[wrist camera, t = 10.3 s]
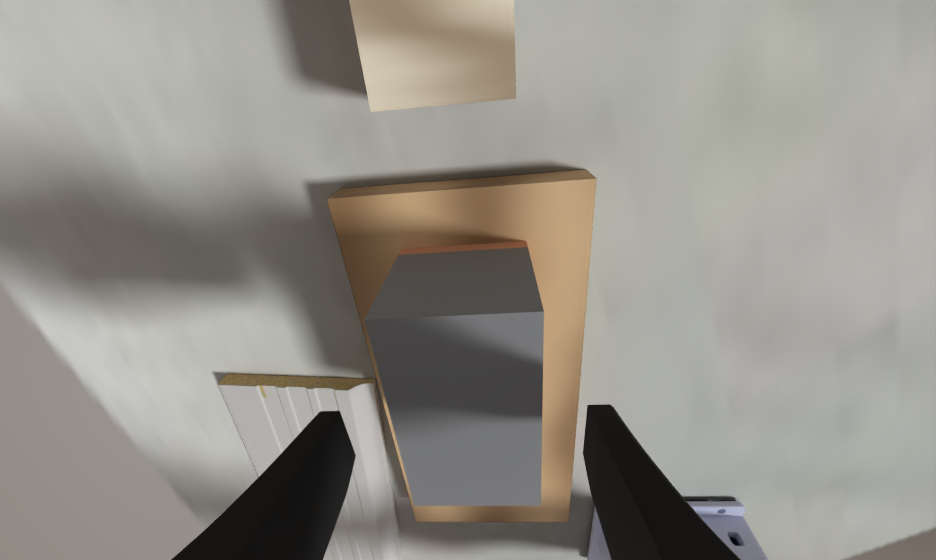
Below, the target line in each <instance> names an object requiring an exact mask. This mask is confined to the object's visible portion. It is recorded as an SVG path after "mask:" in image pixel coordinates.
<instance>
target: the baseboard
mask: <svg viewBox="0 0 936 560" xmlns="http://www.w3.org/2000/svg"><path fill="white" fill-rule="evenodd" d="M218 386H219V388H220V390H221V392H222V395H223V397H224V399H225V402H226V404H227V406H228V408H229V411H230V413H231V415H232V417H233V420H234V422H235V424H236V426H237V429H238V431H239V433H240V436H241V438H242V440H243V442H244V445H245V447H246V449H247V451H248V454H249V456H250V458H251V460H252V463H253V465H254V467H255V469H256V472H257V474H258V476H259V477H260V475H261V474H262V473H263V472H264V471H265V470H266V469H267V468H268V467H269V466H270V465H271V464H272V463H273V462H274V461H275V460H276V459H277V457H278V456H279V455H280V454H281V453H282V452H283V451H284V450H285V449H286V448H287V447H288V446H289V444H290V443H291V442H292V441H293V440H294V439H295V438H296V437H297V436H298V435H299V434H300V432H301V431H302V430H303V429H304V428H305V427H306V426H307V425H308V424H309V423H310V422H311V421H312V419H313V418H314V417H315V416H316V415H317V414H318V413H319V412H320V411H340V413H341V416H342V418H343V421H344V424H345V427H346V430H347V432H348V435H349V438H350V441H351V444H352V446H353V449H354V452H355V455H356V457H355V462H354V466H353V471H352V475H351V479H350V483H349V487H348V491H347V494H346V497H345V500H344V503H343V506H342V508H341V511H340V514H339V517H338V520H337V522H336V525H335V528H334V531H333V533H332V536H331V539H330V542H329V544H328V547H327V550H326V553H325V555H324V558H323V560H404V558H403V552H402V546H401V539H400V533H399V527H398V520H397V514H396V507H395V501H394V495H393V488H392V482H391V476H390V469H389V463H388V457H387V450H386V444H385V438H384V431H383V425H382V418H381V412H380V406H379V399H378V393H377V387H376V380H375V379H356V378H329V377H302V376H276V375H249V374H226V376H225V377H224V378H223V379H222V380H221V381H220V382H219V383H218Z"/></svg>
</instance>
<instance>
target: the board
mask: <svg viewBox="0 0 936 560" xmlns="http://www.w3.org/2000/svg"><path fill="white" fill-rule="evenodd" d="M596 180H597V178H595V177H594V176H593V175H592V174H591V173H590V172H589V171H587V170H575V171H562V172H549V173H536V174H523V175H510V176H497V177H485V178H472V179H459V180H446V181H433V182H420V183H407V184H394V185H381V186H368V187H355V188H342V189H339V190H338V191H337V192H335V193H334V194H333V195H331V196H330V197H329V198H327V202H328V205H329V209H330V212H331V216H332V220H333V223H334V227H335V231H336V234H337V238H338V241H339V245H340V249H341V252H342V256H343V259H344V263H345V267H346V270H347V274H348V277H349V281H350V285H351V288H352V292H353V295H354V299H355V303H356V306H357V310H358V314H359V317H360V321H361V324H362V328H363V332H364V335H365V339H366V342H367V346H368V350H369V353H370V357H371V360H372V364H373V368H374V371H375V375H376V378H377V382H378V386H379V389H380V393H381V397H382V400H383V404H384V407H385V411H386V415H387V418H388V422H389V425H390V429H391V433H392V436H393V440H394V443H395V447H396V451H397V454H398V458H399V461H400V465H401V469H402V472H403V476H404V480H405V483H406V487H407V490H408V494H409V498H410V501H411V505H412V508H413V512H414V516H415V519H416V522H569V510H570V498H571V485H572V473H573V461H574V449H575V437H576V424H577V412H578V400H579V388H580V376H581V363H582V351H583V339H584V327H585V315H586V302H587V290H588V278H589V266H590V254H591V241H592V229H593V217H594V205H595V193H596ZM518 241H527V245H528V249H529V253H530V257H531V261H532V265H533V269H534V273H535V277H536V281H537V285H538V289H539V294H540V298H541V302H542V306H543V310H544V342H543V406H542V470H541V506H414V503H413V500H412V496H411V492H410V488H409V485H408V481H407V477H406V473H405V470H404V466H403V462H402V458H401V455H400V451H399V447H398V443H397V440H396V436H395V432H394V429H393V425H392V421H391V417H390V414H389V410H388V406H387V402H386V399H385V395H384V391H383V387H382V384H381V380H380V376H379V372H378V369H377V365H376V361H375V357H374V354H373V350H372V346H371V343H370V339H369V335H368V331H367V328H366V324H365V318H366V316H367V314H368V312H369V310H370V308H371V306H372V304H373V302H374V300H375V298H376V296H377V295H378V293H379V291H380V289H381V287H382V285H383V283H384V281H385V279H386V277H387V275H388V273H389V271H390V270H391V268H392V266H393V264H394V262H395V260H396V258H397V256H398V254H399V252H400V250H401V249H404V248H420V247H437V246H453V245H469V244H485V243H502V242H518Z"/></svg>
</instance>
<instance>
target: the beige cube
mask: <svg viewBox="0 0 936 560" xmlns="http://www.w3.org/2000/svg"><path fill="white" fill-rule="evenodd" d="M349 3H350V8H351V13H352V18H353V24H354V29H355V34H356V39H357V44H358V49H359V54H360V60H361V65H362V70H363V75H364V80H365V85H366V90H367V96H368V101H369V106H370V111H371V112H375V111H386V110H397V109H407V108H418V107H429V106H440V105H450V104H461V103H472V102H483V101H494V100H504V99H515V98H516V76H515V25H514V0H349Z"/></svg>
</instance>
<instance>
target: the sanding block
mask: <svg viewBox="0 0 936 560" xmlns="http://www.w3.org/2000/svg"><path fill="white" fill-rule="evenodd" d="M365 324H366V328H367V331H368V335H369V339H370V343H371V346H372V350H373V354H374V357H375V361H376V365H377V369H378V372H379V376H380V380H381V384H382V387H383V391H384V395H385V399H386V402H387V406H388V410H389V414H390V417H391V421H392V425H393V429H394V432H395V436H396V440H397V443H398V447H399V451H400V455H401V458H402V462H403V466H404V470H405V473H406V477H407V481H408V485H409V488H410V492H411V496H412V500H413V503H414V506H541V470H542V406H543V342H544V310H543V306H542V302H541V298H540V294H539V289H538V285H537V281H536V277H535V273H534V269H533V265H532V261H531V257H530V253H529V249H528V245H527V241H518V242H502V243H485V244H469V245H453V246H437V247H420V248H404V249H401V250H400V252H399V254H398V256H397V258H396V260H395V262H394V264H393V266H392V268H391V270H390V271H389V273H388V275H387V277H386V279H385V281H384V283H383V285H382V287H381V289H380V291H379V293H378V295H377V296H376V298H375V300H374V302H373V304H372V306H371V308H370V310H369V312H368V314H367V316H366V318H365Z"/></svg>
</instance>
